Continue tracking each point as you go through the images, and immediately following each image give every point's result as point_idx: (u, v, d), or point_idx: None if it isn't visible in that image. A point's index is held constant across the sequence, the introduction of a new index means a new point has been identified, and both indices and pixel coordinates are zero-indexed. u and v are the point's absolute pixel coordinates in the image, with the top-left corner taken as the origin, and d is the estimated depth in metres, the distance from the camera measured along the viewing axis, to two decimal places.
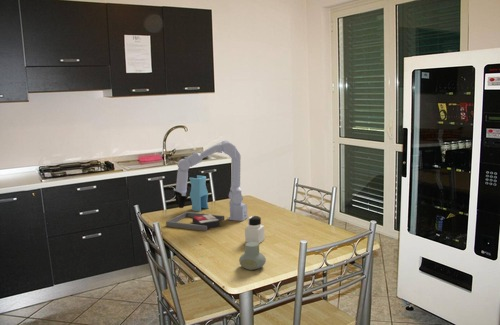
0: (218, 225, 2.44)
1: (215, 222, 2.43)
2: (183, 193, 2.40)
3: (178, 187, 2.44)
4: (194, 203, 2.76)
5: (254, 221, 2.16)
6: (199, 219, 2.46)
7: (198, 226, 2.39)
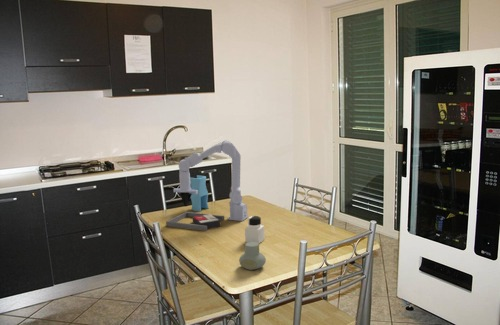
0: (218, 225, 2.44)
1: (215, 222, 2.43)
2: (196, 191, 2.48)
3: (186, 188, 2.48)
4: (194, 203, 2.76)
5: (254, 221, 2.16)
6: (199, 219, 2.46)
7: (198, 226, 2.39)
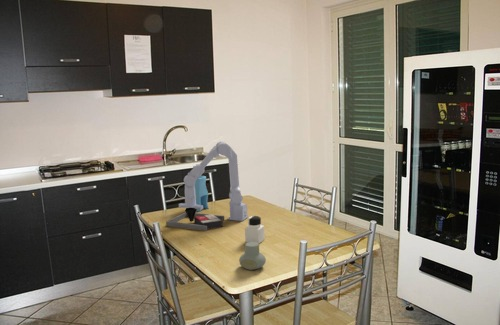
0: (220, 225, 2.43)
1: (217, 222, 2.43)
2: (201, 207, 2.48)
3: (191, 203, 2.48)
4: None
5: (254, 221, 2.16)
6: (201, 219, 2.46)
7: (198, 226, 2.39)
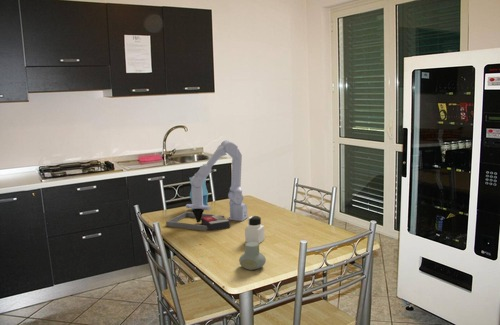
0: (228, 226, 2.42)
1: (225, 223, 2.41)
2: (209, 207, 2.46)
3: (198, 204, 2.46)
4: None
5: (254, 221, 2.16)
6: (208, 220, 2.44)
7: (198, 226, 2.39)
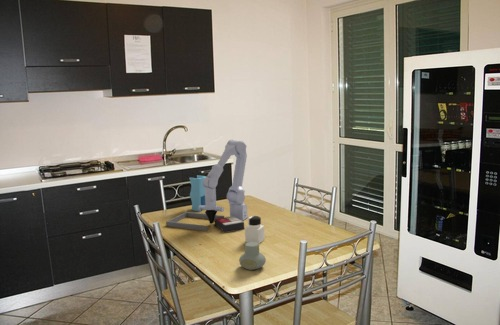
0: (242, 227, 2.38)
1: (239, 224, 2.38)
2: (222, 209, 2.42)
3: (212, 205, 2.43)
4: (194, 203, 2.76)
5: (254, 221, 2.16)
6: (222, 221, 2.41)
7: (198, 226, 2.39)
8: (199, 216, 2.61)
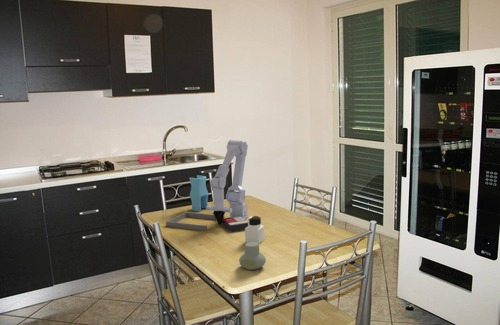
0: None
1: (245, 224, 2.37)
2: (230, 210, 2.40)
3: (220, 206, 2.41)
4: (194, 203, 2.76)
5: (254, 221, 2.16)
6: (228, 221, 2.41)
7: (198, 226, 2.39)
8: (199, 216, 2.61)
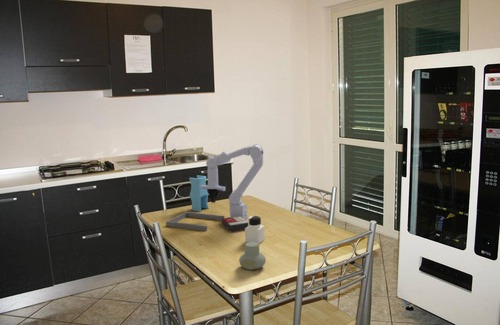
0: None
1: (245, 224, 2.37)
2: (224, 188, 2.53)
3: (214, 184, 2.53)
4: (194, 203, 2.76)
5: (254, 221, 2.16)
6: (228, 221, 2.41)
7: (198, 226, 2.39)
8: (199, 216, 2.61)
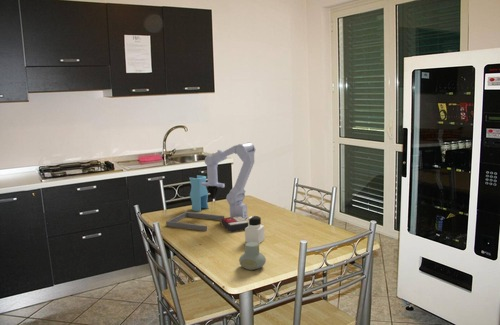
0: None
1: (245, 224, 2.37)
2: (223, 185, 2.61)
3: (213, 181, 2.61)
4: (194, 203, 2.76)
5: (254, 221, 2.16)
6: (228, 221, 2.41)
7: (198, 226, 2.39)
8: (199, 216, 2.61)
